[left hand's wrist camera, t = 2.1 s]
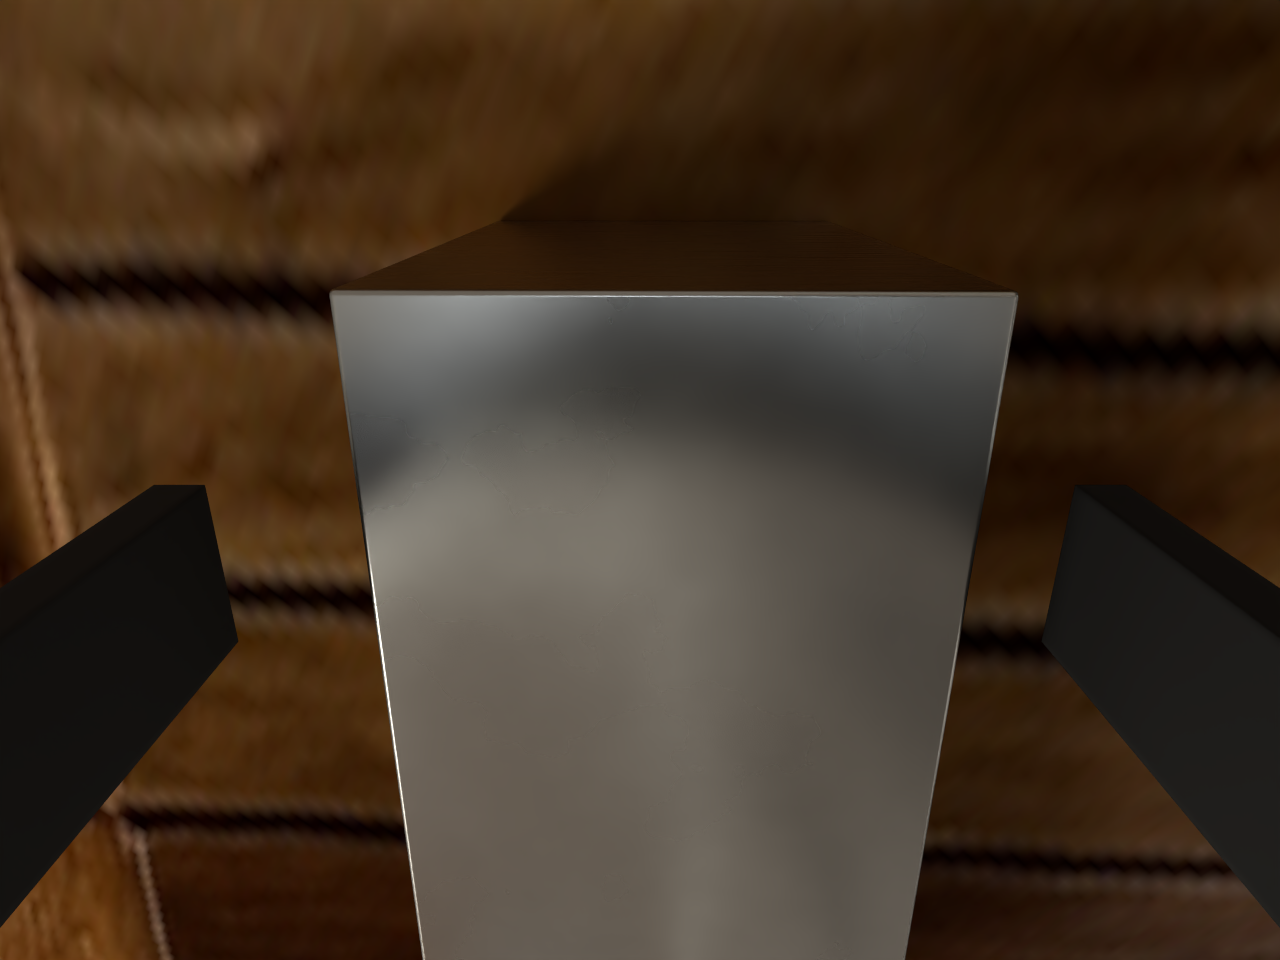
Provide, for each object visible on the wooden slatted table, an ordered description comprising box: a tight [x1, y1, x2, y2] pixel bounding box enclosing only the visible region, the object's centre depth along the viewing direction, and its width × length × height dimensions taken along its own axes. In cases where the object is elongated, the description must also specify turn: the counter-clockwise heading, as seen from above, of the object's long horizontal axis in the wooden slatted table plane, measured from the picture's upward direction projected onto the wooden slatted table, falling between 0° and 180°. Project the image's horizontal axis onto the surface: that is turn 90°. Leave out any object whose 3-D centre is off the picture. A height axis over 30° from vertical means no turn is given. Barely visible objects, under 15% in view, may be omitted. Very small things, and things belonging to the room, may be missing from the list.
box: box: [330, 221, 1018, 960], centre depth 19 cm, size 28×8×11 cm, turn 0°
